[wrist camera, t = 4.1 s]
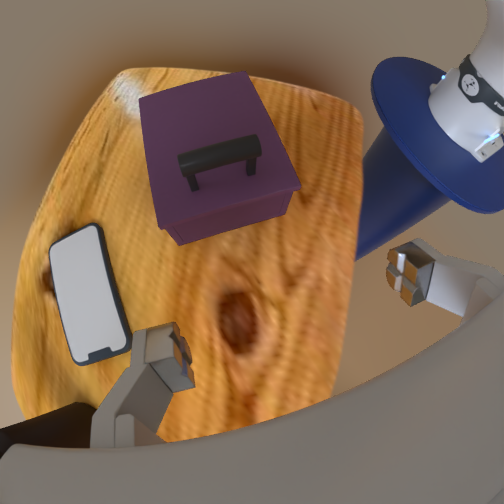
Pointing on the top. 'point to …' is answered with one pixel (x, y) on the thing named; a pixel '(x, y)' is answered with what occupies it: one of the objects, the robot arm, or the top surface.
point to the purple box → (230, 219)
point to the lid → (211, 149)
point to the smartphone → (88, 297)
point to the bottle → (52, 429)
